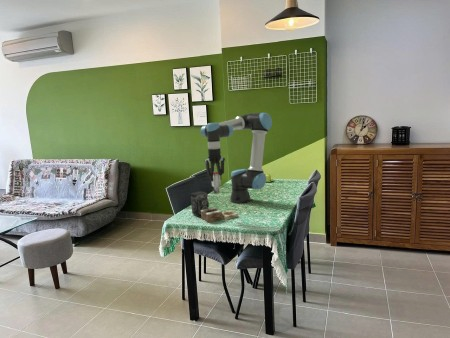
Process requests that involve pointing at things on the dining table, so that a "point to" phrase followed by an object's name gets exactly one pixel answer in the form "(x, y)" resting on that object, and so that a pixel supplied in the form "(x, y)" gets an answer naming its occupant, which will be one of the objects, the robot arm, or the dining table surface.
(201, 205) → the camera
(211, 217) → the dock block
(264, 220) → the dining table surface
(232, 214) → the mount block
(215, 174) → the lock pin
